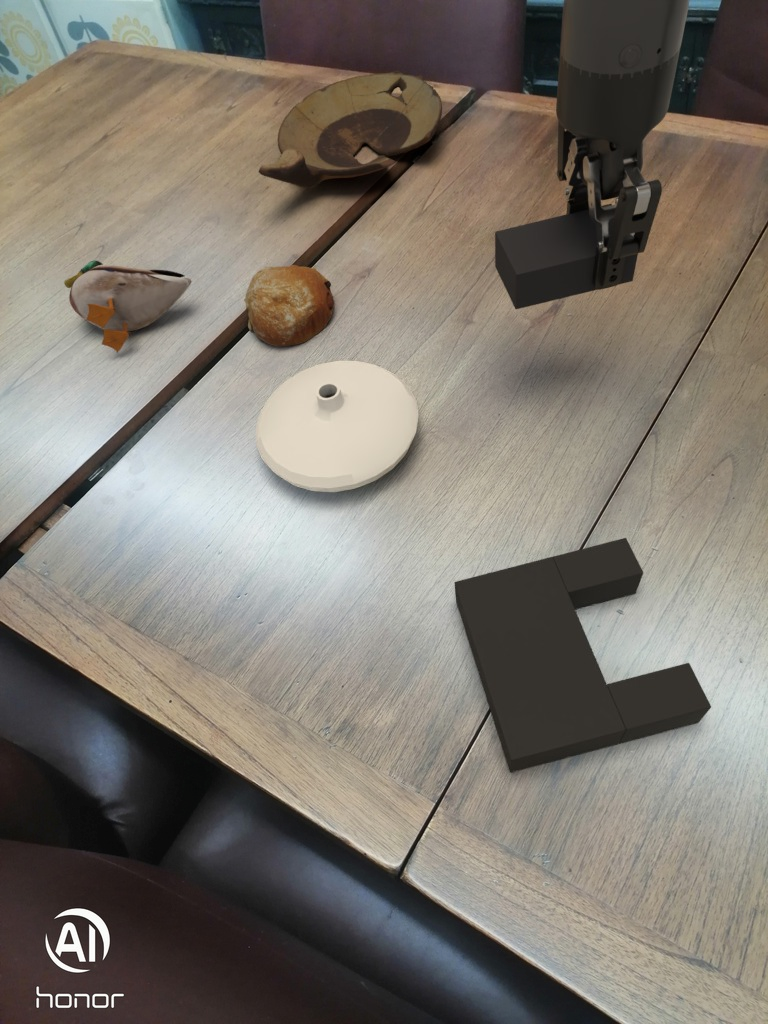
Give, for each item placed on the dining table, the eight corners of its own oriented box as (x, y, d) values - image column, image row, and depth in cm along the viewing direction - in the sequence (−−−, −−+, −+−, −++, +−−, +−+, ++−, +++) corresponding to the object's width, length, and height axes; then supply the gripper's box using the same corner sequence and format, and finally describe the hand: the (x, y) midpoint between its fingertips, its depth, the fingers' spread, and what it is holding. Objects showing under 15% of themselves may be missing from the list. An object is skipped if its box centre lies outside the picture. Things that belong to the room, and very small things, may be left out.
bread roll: (259, 329, 84) (214, 292, 78) (318, 268, 83) (278, 225, 76) (293, 376, 79) (248, 341, 73) (357, 312, 77) (317, 270, 71)
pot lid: (319, 365, 75) (305, 313, 69) (449, 410, 69) (446, 358, 63) (232, 471, 68) (208, 424, 62) (367, 531, 62) (355, 485, 56)
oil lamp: (481, 147, 94) (480, 88, 88) (291, 241, 88) (276, 184, 81) (391, 91, 106) (385, 35, 99) (218, 170, 99) (200, 116, 93)
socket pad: (619, 559, 57) (626, 537, 54) (699, 722, 49) (712, 707, 46) (455, 601, 57) (454, 581, 54) (509, 772, 49) (511, 760, 46)
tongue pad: (605, 239, 61) (611, 203, 58) (633, 281, 57) (640, 244, 54) (494, 266, 61) (494, 231, 58) (515, 310, 57) (516, 274, 54)
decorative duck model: (48, 247, 82) (167, 206, 83) (81, 300, 88) (193, 262, 89) (45, 314, 73) (180, 267, 73) (83, 369, 79) (208, 325, 79)
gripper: (730, 75, 40) (670, 304, 54) (632, -15, 49) (602, 204, 62) (605, 105, 41) (577, 327, 54) (528, 10, 49) (521, 223, 63)
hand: (591, 260), depth 58 cm, fingers closed on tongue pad, 6 cm apart
